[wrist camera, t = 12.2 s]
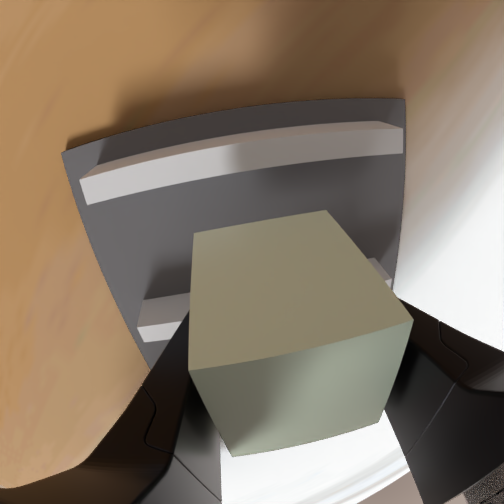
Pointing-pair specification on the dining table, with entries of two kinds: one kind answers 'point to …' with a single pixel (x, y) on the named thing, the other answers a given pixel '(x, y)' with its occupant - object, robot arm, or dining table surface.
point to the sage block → (290, 332)
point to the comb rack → (233, 192)
